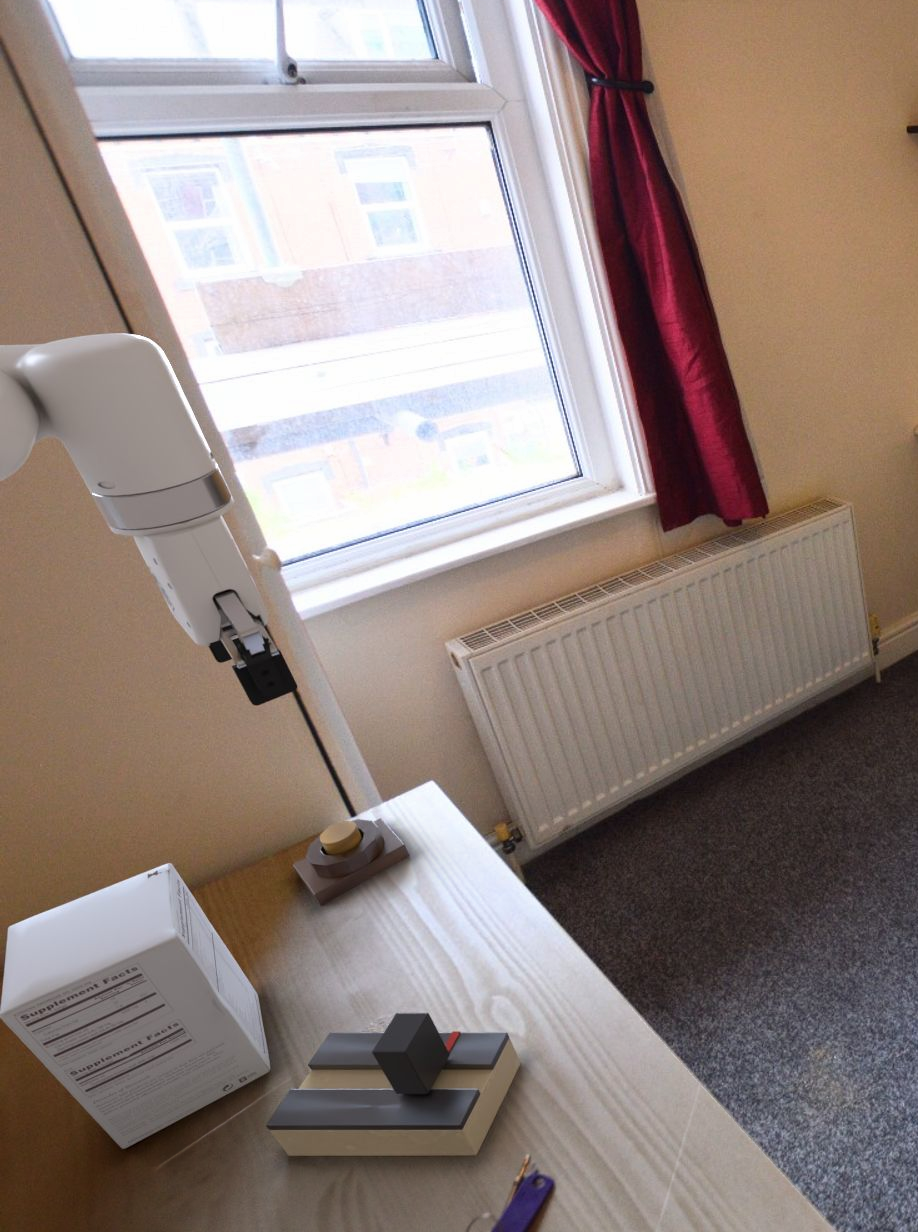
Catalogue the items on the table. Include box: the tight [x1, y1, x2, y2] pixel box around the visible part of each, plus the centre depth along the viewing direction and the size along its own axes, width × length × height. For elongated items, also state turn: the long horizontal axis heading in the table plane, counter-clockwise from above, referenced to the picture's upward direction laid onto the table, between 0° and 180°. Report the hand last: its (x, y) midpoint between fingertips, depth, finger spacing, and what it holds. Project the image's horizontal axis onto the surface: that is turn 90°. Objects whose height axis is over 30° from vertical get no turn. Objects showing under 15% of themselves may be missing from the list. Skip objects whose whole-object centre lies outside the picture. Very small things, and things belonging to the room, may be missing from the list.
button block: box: [292, 817, 411, 907], centre depth 87 cm, size 8×6×4 cm
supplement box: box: [0, 862, 271, 1150], centre depth 66 cm, size 10×9×17 cm
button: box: [319, 820, 362, 856], centre depth 86 cm, size 3×3×2 cm
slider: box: [372, 1012, 450, 1094], centre depth 64 cm, size 2×3×6 cm
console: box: [265, 1030, 521, 1157], centre depth 66 cm, size 14×7×4 cm, turn 90°
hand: (256, 675), depth 76 cm, fingers open, 9 cm apart
